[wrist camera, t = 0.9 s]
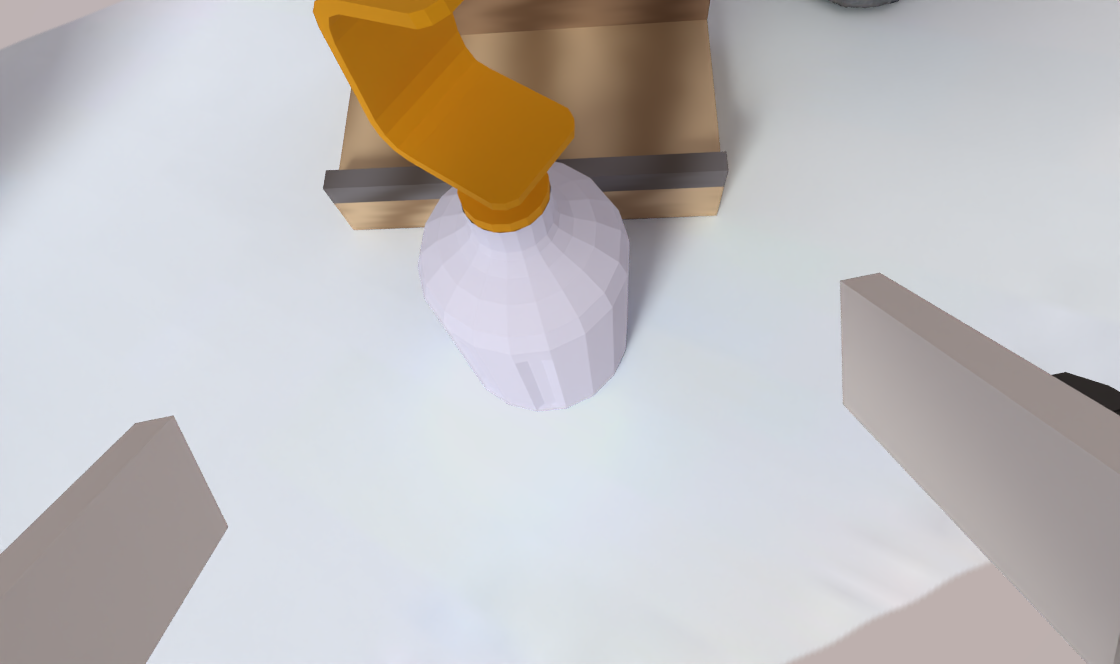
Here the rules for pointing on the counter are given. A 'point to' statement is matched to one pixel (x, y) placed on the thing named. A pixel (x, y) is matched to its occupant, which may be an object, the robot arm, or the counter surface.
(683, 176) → the cleat shelf
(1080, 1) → the counter surface
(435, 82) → the soap bottle
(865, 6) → the moka pot
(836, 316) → the counter surface
